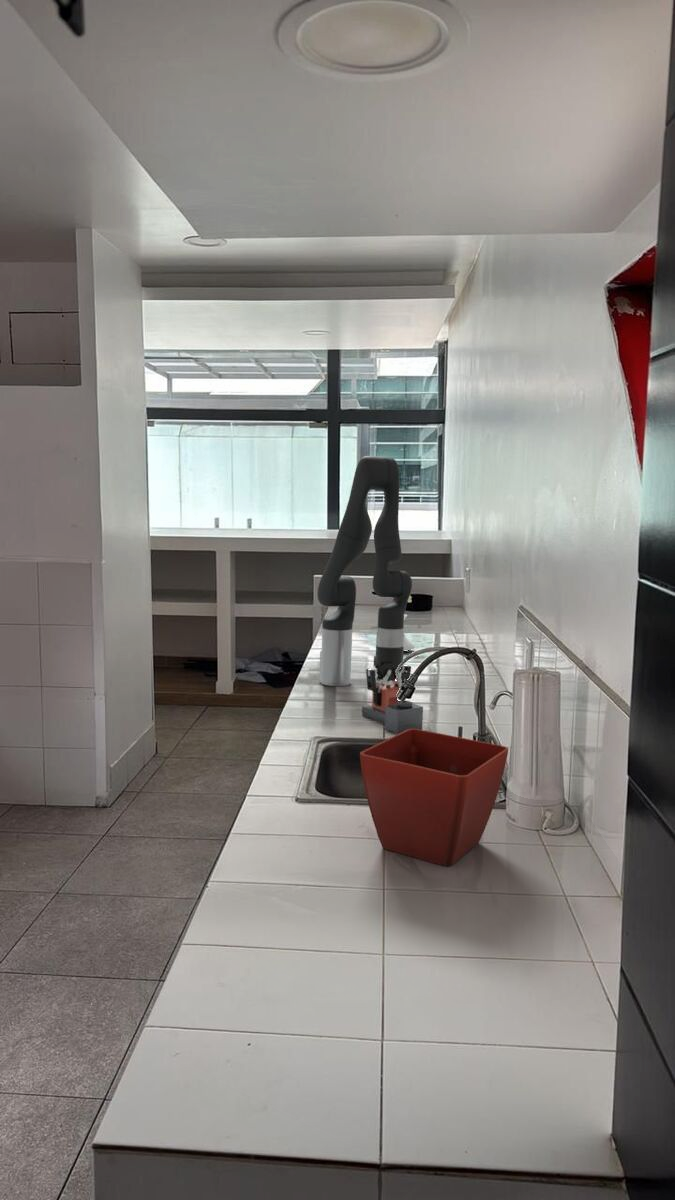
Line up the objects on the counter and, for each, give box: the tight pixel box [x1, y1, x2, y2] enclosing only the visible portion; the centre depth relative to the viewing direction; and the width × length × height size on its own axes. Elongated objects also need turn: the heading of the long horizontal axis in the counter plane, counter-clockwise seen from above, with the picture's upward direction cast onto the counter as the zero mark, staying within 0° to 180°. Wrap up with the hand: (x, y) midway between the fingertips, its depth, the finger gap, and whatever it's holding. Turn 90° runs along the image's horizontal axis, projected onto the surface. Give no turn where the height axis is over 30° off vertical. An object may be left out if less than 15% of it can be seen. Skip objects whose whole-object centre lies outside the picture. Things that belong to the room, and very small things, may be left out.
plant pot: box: [359, 729, 509, 867], centre depth 146 cm, size 19×19×17 cm
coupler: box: [361, 700, 424, 735], centre depth 224 cm, size 19×8×7 cm, turn 34°
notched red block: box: [371, 684, 399, 711], centre depth 239 cm, size 6×6×7 cm
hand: (387, 704), depth 239 cm, fingers closed on notched red block, 6 cm apart
